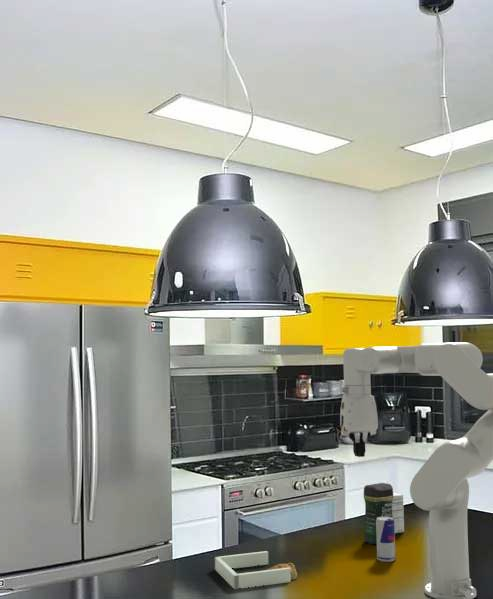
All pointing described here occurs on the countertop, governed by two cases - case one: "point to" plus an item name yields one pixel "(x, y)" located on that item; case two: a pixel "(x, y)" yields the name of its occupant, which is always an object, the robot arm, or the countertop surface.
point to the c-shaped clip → (251, 578)
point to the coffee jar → (376, 507)
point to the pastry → (290, 565)
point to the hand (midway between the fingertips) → (359, 456)
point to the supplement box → (398, 512)
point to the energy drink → (385, 539)
